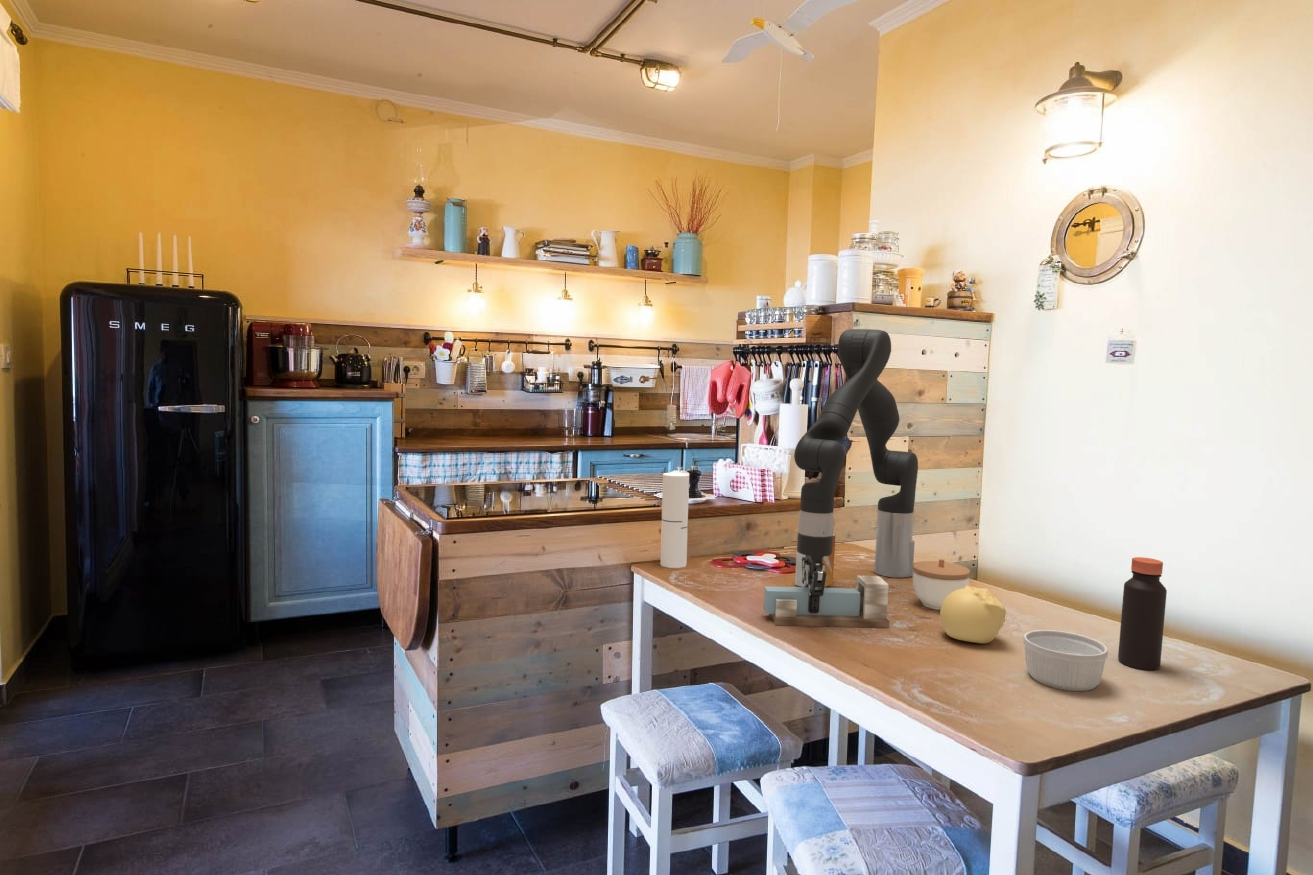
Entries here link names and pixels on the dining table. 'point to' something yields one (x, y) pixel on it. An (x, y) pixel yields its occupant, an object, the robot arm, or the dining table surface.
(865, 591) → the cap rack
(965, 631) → the yellow clay lump
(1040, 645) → the ramekin
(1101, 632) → the dining table surface
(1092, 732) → the dining table surface
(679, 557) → the cylindrical container
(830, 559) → the small box
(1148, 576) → the bottle
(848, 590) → the slat
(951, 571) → the lidded bowl
